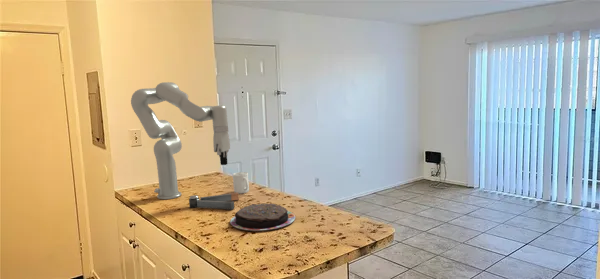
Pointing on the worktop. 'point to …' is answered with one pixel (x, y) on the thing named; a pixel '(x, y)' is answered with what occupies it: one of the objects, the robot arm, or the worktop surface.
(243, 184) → the cup
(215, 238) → the worktop surface
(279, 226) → the chocolate cake
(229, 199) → the tong arm
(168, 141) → the robot arm
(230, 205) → the base
